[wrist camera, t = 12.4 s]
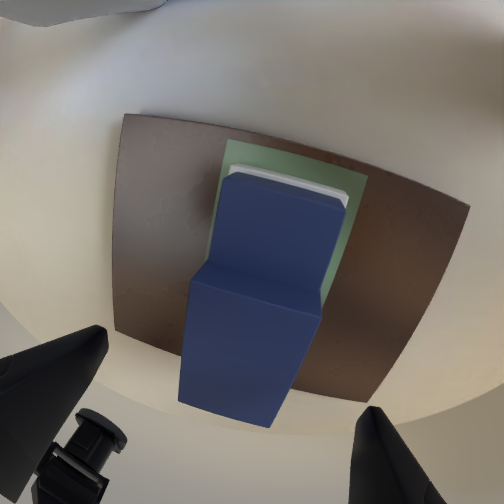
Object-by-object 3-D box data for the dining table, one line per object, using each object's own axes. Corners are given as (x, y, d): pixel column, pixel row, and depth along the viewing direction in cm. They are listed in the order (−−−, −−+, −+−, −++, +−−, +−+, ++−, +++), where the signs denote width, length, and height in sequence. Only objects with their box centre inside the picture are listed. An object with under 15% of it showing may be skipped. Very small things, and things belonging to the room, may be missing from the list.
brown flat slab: (365, 390, 18) (367, 404, 17) (123, 321, 19) (113, 331, 18) (460, 200, 12) (471, 206, 11) (136, 114, 14) (122, 113, 13)
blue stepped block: (281, 370, 17) (270, 434, 12) (202, 347, 17) (173, 405, 13) (345, 191, 12) (366, 220, 8) (236, 162, 13) (199, 175, 8)
